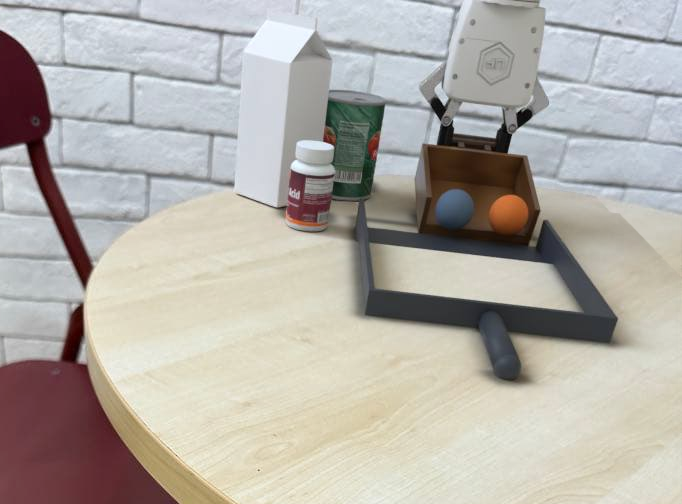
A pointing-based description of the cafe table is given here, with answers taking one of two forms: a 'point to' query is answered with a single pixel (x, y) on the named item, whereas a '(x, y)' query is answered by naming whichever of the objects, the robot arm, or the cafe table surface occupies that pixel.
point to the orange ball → (508, 215)
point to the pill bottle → (310, 186)
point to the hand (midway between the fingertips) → (469, 161)
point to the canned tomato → (353, 141)
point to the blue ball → (454, 209)
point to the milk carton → (279, 103)
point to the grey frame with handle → (483, 314)
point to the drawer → (473, 186)
